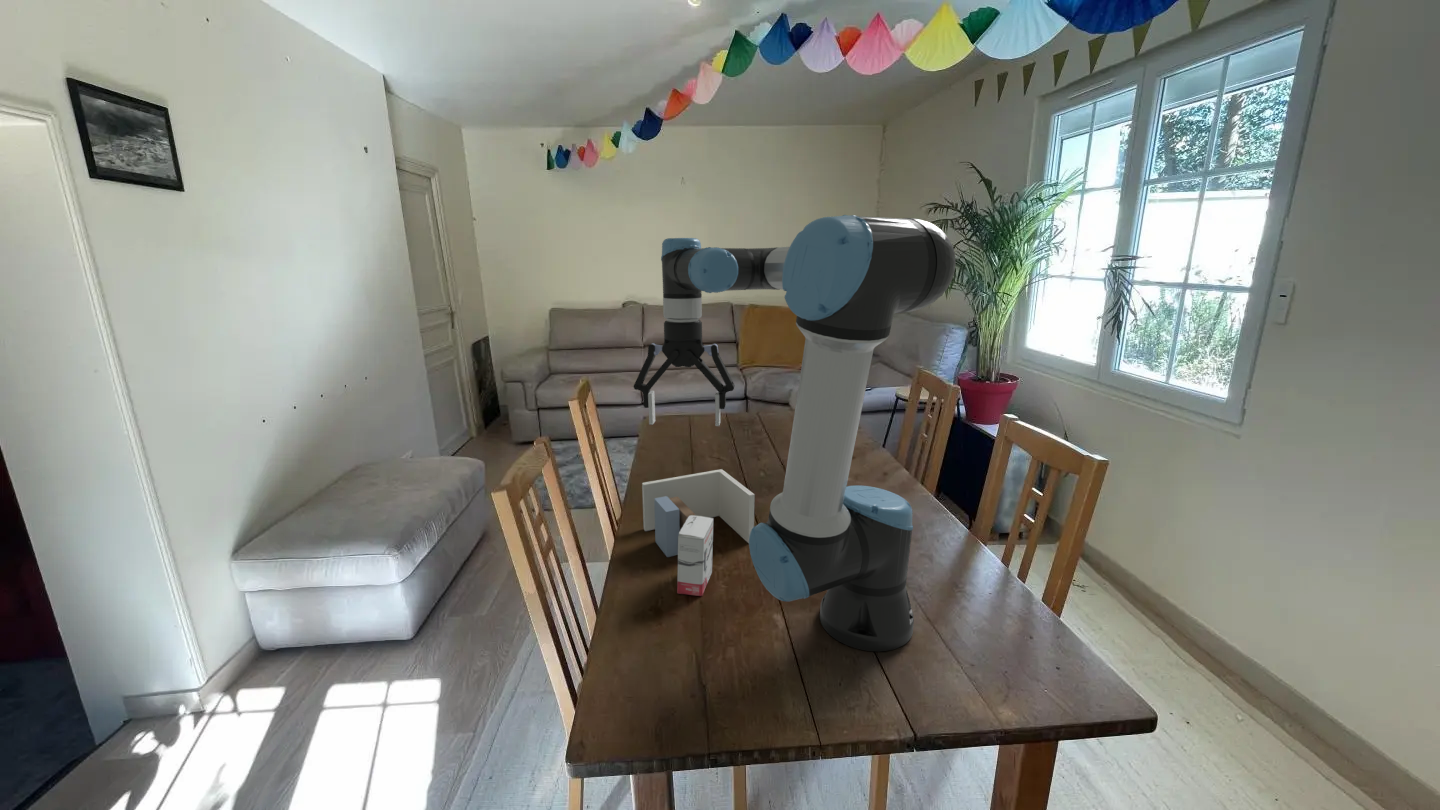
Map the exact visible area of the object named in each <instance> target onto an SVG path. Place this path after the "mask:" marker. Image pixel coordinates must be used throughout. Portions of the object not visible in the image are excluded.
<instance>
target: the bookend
mask: <svg viewBox="0 0 1440 810" xmlns="http://www.w3.org/2000/svg"><path fill="white" fill-rule="evenodd" d="M669 499H670V500H671V501H672V502H673V503H674V504H675V505H676V506H677V507H678V508H679V521H680V530H681V528H682V527H683V525H684V523H685V522H686V520H687V518H688V517H689V516H690V515H695V513H694V512H693V511H692V510H691V509H690V508H689V507H688V506H687V505H686V504H685V503H684V502H683V501H682V500H681V499H680V498H679V497H678V496H677V497H672V498H669Z"/></svg>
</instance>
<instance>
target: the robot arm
mask: <svg viewBox="0 0 1440 810" xmlns="http://www.w3.org/2000/svg"><path fill="white" fill-rule="evenodd" d="M661 243H662V244H661V258H660V261H661V270H662V272H661V274H662V275H661V276H662V309H663V311H662V312H663V319H666V320H665V321H664V322H663V339H664V341H663V345H662V344H657V343H656V342H652V343H651V344H649V345H648V347H647V348H648V349H647V356H646V359H645V361H644V363H643V365H642V367H641V370H640V371H639V374H638V375H637V378H636V380H635V382H634V384H633V389H634V390H636V391H637V390H638V391H640V392H642V395H643V396H642V397H643V407H644V409H645V408H647V409H648V425H649V426H650V425H652V426H653V425H654V424H655V422H656V401H655V399H656V397H655V396H656V395H655V390H651V389H652V388H653V387H654V385H656V383H657V382H658V380H659V379H660V378H661V377H662V376H663V375H664V373H666V371H667V370H668V368H669V367H671V365H672V366H673V367H674V368H681V367H685V368H691V367H693V366H695V367H696V368H697V369H698V370H699V371H700V372H701V374H703V376H704V377H705V378H706V379H707V380H708V381H709V382H710V384H711V385H712V386H713V387H714V388H715V390H716V392H715V395H714V401H715V404H714V405H715V406H714V407H715V409H714V410H715V421H714V423H715V427H720V424H721V410H724V409H725V408H726V404H727V403H726V401H727V395H726V394H727V393H728V392H732V391H734V390H735V383H734V381H733V379H732V377H731V375H730V374H729V371H728V369H727V368H726V367H727V366H726V365H725V364H724V361H723V359H722V357H721V355H720V352H719V350H720V349H719V345H718V344H717V343H713V344H709V345H704V342H703V322H702V321H701V320H700V319H701V318H702V316H703V311H702V310H703V305H702V303H703V302H702V299H703V298H702V292H705V293H707V294H712V293H715V294H717V293H723V292H731V291H732V292H733V291H748V290H749V291H750V290H752V291H753V290H775V291H776V290H777V291H779V290H783V291H784V292H786V293H785V295H784V300H785V302H786V305H787V306H788V308H789V309H790V311H791V312H792V313H793V314H794V315H795V316H796V319H795V325H796V327H797V328H798V329H799V331H800V332H801V333H802V335H803V336H804V338H805V341H804V348H803V352H802V353H803V355H802V361H801V369H800V374H799V380H798V388H797V395H796V401H795V408H794V409H795V410H794V414H793V423H792V430H791V436H790V443H789V447H788V448H789V449H788V455H787V462H786V469H785V477H784V482H783V489H782V492H780V493H779V494H777V495H776V496H774V497H773V499H772V500H771V502H770V505H769V506H770V507H769V513H768V519H767V521H766V522H760V523H758V524H757V525H754V527H753V528H752V530H751V532H750V536H749V543H748V548H749V554H750V558H751V561H752V565H753V566H754V569H755V571H756V574H757V576H758V578H759V580H760V582H761V584H762V585H763V586H764V588H765V589H766V591H768V592H769V593H770V594H771V596H773V597H774V598H776V599H778V600H779V601H782V602H787V603H789V602H794V601H796V600H803V599H804V600H806V599H808V598H809V597H811V596H814V595H816V594H817V595H818V594H821V593H823V592H825V591H826V593H824V595H823V597H822V599H821V602H820V608H819V609H820V610H819V612H820V613H819V619H820V623H821V626H822V628H823V629H824V630H825V632H826V633H827V634H829V636H831V637H832V638H833V639H834V640H836V641H837V642H839V643H841V644H844V645H845V646H848V647H851V648H853V649H857V650H861V651H867V652H887V651H892V650H896V649H899V648H901V647H903V646H905V645H906V644H907V643H908V642H910V641H911V638H912V636H913V632H914V624H915V617H914V613H913V610H912V605H911V600H910V597H909V593H908V590H907V579H908V571H909V562H910V561H909V559H910V554H911V553H910V552H911V551H910V549H911V545H912V544H911V543H912V533H913V529H914V525H913V508H912V505H911V503H909V501H907V499H905V498H904V497H903V496H901V495H899V494H897V493H894V492H892V491H889V490H886V489H883V488H880V487H874V486H870V485H861V484H860V485H848V480H849V475H850V469H851V465H852V459H853V455H854V449H855V443H856V440H857V439H856V438H857V436H858V435H857V434H858V431H859V430H858V429H859V426H860V425H859V424H860V419H861V415H862V410H863V404H864V399H865V396H866V395H865V394H866V389H867V383H868V380H869V374H870V370H871V364H872V360H873V354H874V349H875V348H876V347H877V346H878V345H881V343H883V342H885V341H886V340H888V339H889V337H890V333H891V329H892V323H893V319H894V315H895V314H901V313H908V312H909V313H910V312H915V311H918V310H921V309H924V308H927V307H928V306H930V305H932V304H934V303H935V302H936V301H937V300H938V299H939V298H940V297H942V296H943V295H944V293H945V292H946V291H947V290H948V288H949V287H950V284H951V283H952V281H953V279H954V275H955V271H956V253H955V249H954V246H953V244H952V241H951V240H950V238H949V237H948V236H947V234H946V233H945V232H944V231H943V230H942V229H941V228H940V227H938V226H937V225H935V224H934V223H932V222H929V221H927V220H923V219H920V218H914V217H902V218H900V217H883V216H881V217H880V216H867V215H866V216H863V215H862V216H861V215H854V214H851V215H849V214H843V215H838V216H837V215H835V216H825V217H823V216H822V217H820V218H816V219H814V220H813V221H811V222H808V224H806V225H805V226H804V227H803V229H802V230H801V231H799V232H798V233H797V234H796V236H795V237H794V239H793V240H792V242H791V244H790V245H789V246H781V247H764V248H763V247H762V248H761V247H758V248H757V247H756V248H742V247H741V248H737V247H736V248H735V247H732V248H731V247H730V248H729V247H725V248H724V247H710V246H708V247H703V248H702V244H701V241H700V240H699V238H696V237H695V238H694V237H675V238H673V237H671V238H664V240H663V241H662V242H661ZM660 352H662V353H663V354H664V356H665V358H666V360H665V361H664V362H663V363H662V365H661V366H660V367H659V368H658V370H656V372H655V373H654V374H653V376H652V377H651V378H650V379H649V380H648V382H647V383H646V384H645V383H644V382H645V379H647V375H648V373H649V371H650V369H651V367H652V365H653V362H654V361H655V358H656V356H658V355H659V354H660ZM705 352H706V353H707V354H708V356H710V357H711V358H712V361H713V362H714V365H715V366H716V369H717V370H718V372H719V374H720V376H721V378H722V380H723V382H724V384H725V385H724V384H723V382H721V380H720V379H719V378H718V377H717V376H716V374H715V373H714V372H713V371H712V370H711V368H710V367H709V366H708V365H707V364H706V362H705V361H704V360H703V359H702V355H703V354H704V353H705Z"/></svg>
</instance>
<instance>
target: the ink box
mask: <svg viewBox="0 0 1440 810" xmlns="http://www.w3.org/2000/svg"><path fill="white" fill-rule="evenodd" d="M713 542H714V517H711V518H709V517H704V516H696V515H690V516H689V517H688V518H687V520H686V522H685V523H684V525H683V527H682V528H681V530H680V531H679V536H678V555H677V578H676V579H677V580H676V581H677V584H676V585H677V589H676V591H677V592H676V593H677V594H678V595H679V594H680V595H689V596H696V597H697V596H698V597H703V595H704V593H705V589H706V587H707V585H708V583H709V580H710V578H711V575H712V573H713V547H714V546H713V544H714V543H713Z"/></svg>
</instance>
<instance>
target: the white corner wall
mask: <svg viewBox="0 0 1440 810" xmlns="http://www.w3.org/2000/svg"><path fill="white" fill-rule="evenodd" d="M641 485H642V486H641V489H642V490H641V492H642V517H643V519H642V521H643V522H642V523H643V530H644V532H649V531H653V530H655V531H654V534H655V535H654V536H655V537H654V539H655V543H656V545H657V546H658V547H659V549H660V550H661V551H662V552H663V554H664V556H666V558H670V557H674V556H678V536H679V531H680V521H679V508H678V507H677V506H676V505H675V504H674V503H673V502H672V501H671V500H670V499H669V498H672V497H677V496H678V497H679V498H680V499H681V500H682V501H683V502H684V503H685V504H686V505H687V506H688V507H689V508H690V509H691V510H692V511H693V512H694V513H695V515H696V516H704V517H709V518H715V517H720V518H721V520H723V521H724V522H725V523H726V524H727V525H728V526H729V527H730V528H732V530H733V531H735V532H736V533H737V534H738V535H739V536H740V537H741V538H742V539H743V540H744V541H745V542H746V543H748V544H749V536H750V532H751V530H752V528H753V527H755V499H756V498H755V495H756V494H755V493H753V492H752V491H751V490H750V489H748V488H747V487H746V486H745V485H743V484H742V483H741V482H739V481H738V480H737V479H736V478H734V477H733V476H731V475H730V474H729V473H728V472H726V471H725V470H723V468H721V469H720V468H719V469H714V470H709V471H704V472H697V473H692V474H686V475H679V476H676V477H675V476H674V477H668V478H663V479H657V480H650V481H645V482H642V483H641Z"/></svg>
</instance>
